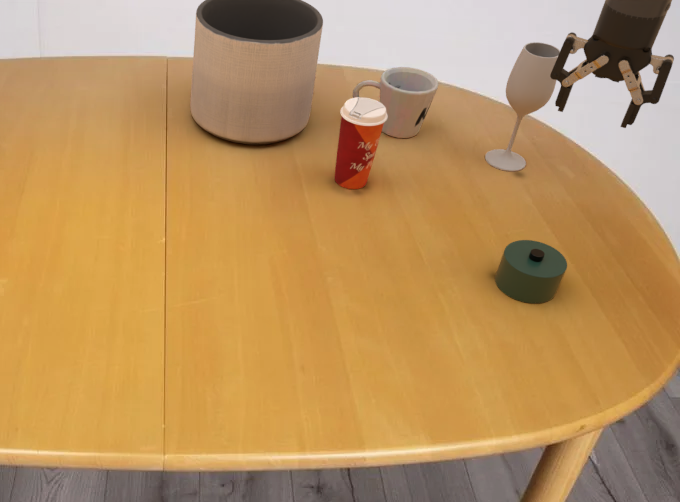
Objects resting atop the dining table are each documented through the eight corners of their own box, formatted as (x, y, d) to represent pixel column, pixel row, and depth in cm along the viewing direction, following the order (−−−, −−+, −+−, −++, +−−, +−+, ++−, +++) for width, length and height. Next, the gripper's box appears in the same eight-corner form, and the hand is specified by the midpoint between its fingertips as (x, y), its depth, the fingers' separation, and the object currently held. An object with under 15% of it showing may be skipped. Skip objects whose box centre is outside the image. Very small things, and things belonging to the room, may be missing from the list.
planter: (209, 82, 176) (215, -19, 162) (319, 102, 171) (335, 1, 158) (174, 135, 160) (177, 29, 147) (294, 159, 156) (309, 52, 142)
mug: (427, 145, 161) (440, 96, 154) (346, 135, 162) (355, 86, 156) (425, 118, 168) (438, 69, 162) (348, 109, 170) (357, 60, 163)
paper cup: (359, 198, 147) (375, 123, 138) (319, 181, 151) (332, 107, 141) (380, 178, 152) (397, 105, 143) (342, 163, 155) (356, 90, 146)
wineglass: (482, 167, 156) (517, 55, 142) (485, 146, 162) (519, 37, 147) (526, 175, 155) (566, 63, 140) (527, 154, 160) (566, 44, 146)
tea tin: (550, 269, 135) (563, 238, 131) (561, 307, 128) (575, 275, 124) (491, 262, 135) (502, 231, 131) (498, 300, 129) (510, 268, 125)
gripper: (699, 6, 112) (648, 119, 123) (584, -18, 117) (545, 93, 128) (693, 26, 107) (641, 143, 118) (574, 0, 112) (535, 115, 123)
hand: (591, 117), depth 123 cm, fingers open, 8 cm apart
